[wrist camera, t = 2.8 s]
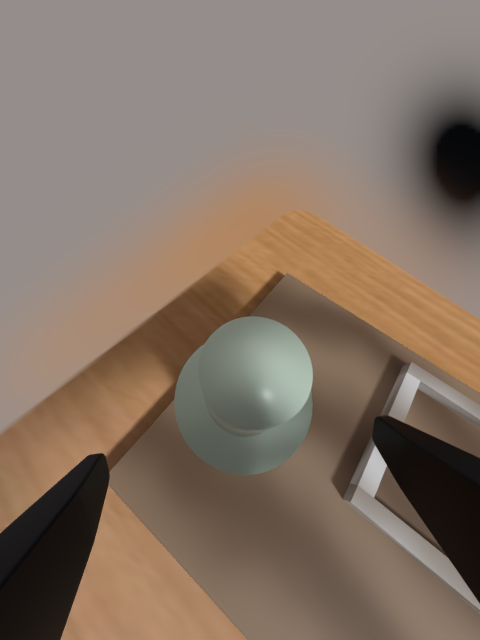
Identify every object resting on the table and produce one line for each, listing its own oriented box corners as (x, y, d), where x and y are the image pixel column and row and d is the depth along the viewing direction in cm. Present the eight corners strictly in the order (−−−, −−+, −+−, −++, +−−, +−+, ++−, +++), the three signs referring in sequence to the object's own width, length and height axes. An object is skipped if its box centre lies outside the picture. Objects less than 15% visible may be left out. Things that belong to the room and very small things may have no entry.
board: (529, 937, 9) (602, 1051, 7) (109, 477, 15) (95, 480, 13) (564, 457, 18) (602, 457, 16) (284, 279, 23) (290, 265, 22)
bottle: (238, 481, 15) (286, 556, 4) (182, 429, 16) (104, 381, 5) (280, 416, 16) (387, 353, 6) (227, 374, 18) (238, 257, 7)
